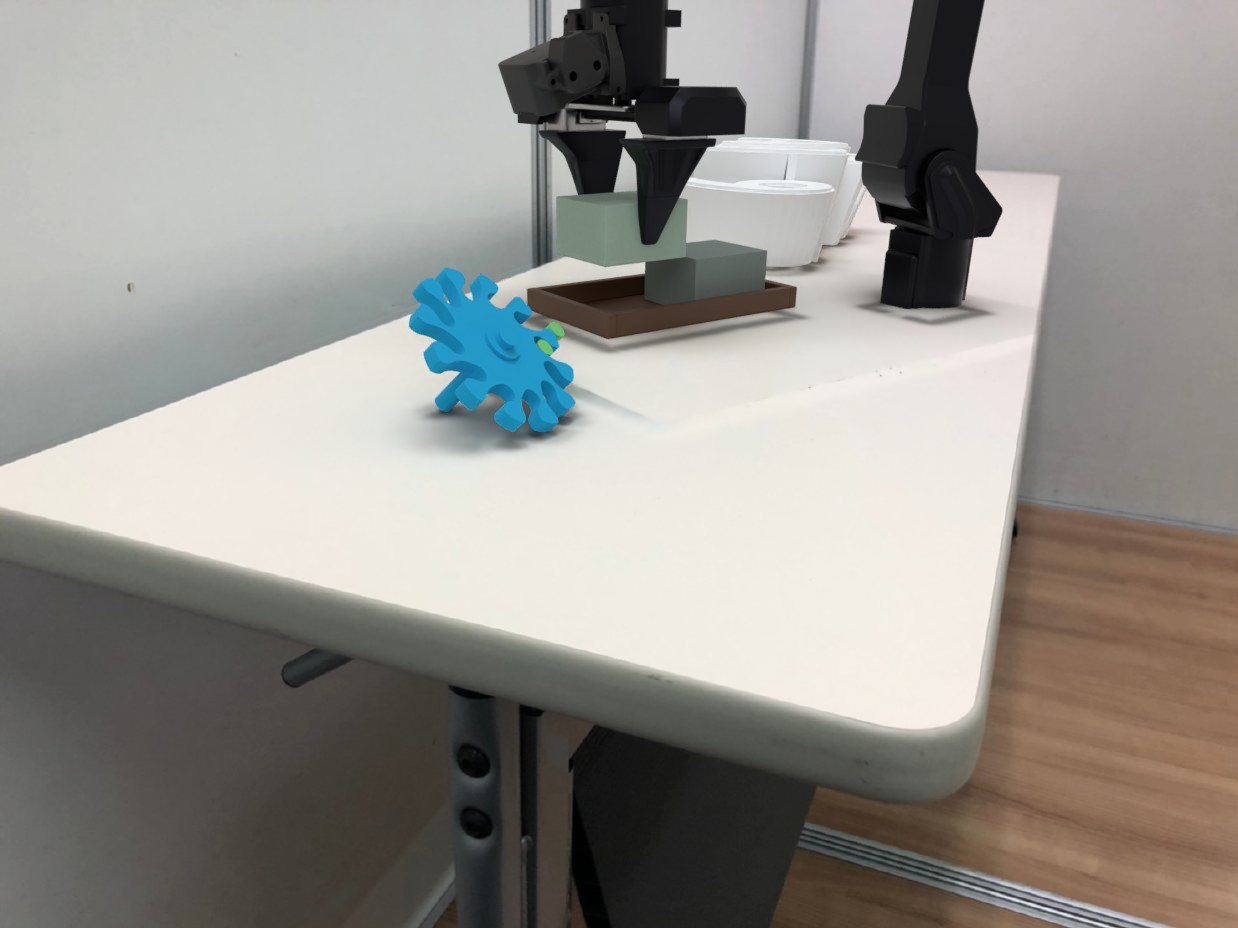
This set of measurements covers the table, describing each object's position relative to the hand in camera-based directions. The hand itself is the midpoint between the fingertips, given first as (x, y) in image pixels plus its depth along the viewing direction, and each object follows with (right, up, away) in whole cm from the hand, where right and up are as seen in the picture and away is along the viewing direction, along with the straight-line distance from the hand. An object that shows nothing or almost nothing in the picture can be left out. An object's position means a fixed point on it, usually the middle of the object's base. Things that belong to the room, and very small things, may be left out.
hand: (621, 238), depth 68 cm
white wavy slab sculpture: (+17, +7, +34) cm, 38 cm away
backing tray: (+3, -5, +5) cm, 7 cm away
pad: (+6, -3, +6) cm, 10 cm away
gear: (-6, -14, -17) cm, 22 cm away
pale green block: (0, -1, 0) cm, 1 cm away
